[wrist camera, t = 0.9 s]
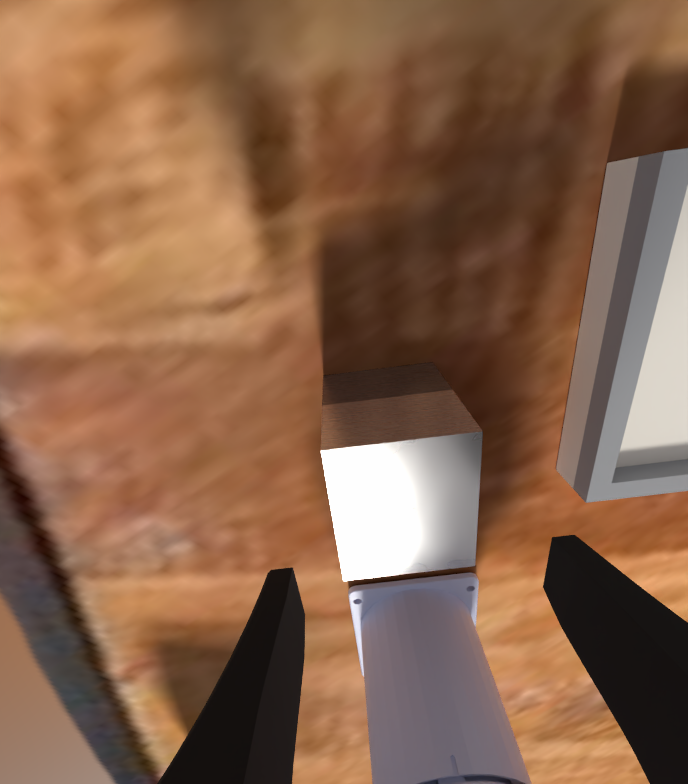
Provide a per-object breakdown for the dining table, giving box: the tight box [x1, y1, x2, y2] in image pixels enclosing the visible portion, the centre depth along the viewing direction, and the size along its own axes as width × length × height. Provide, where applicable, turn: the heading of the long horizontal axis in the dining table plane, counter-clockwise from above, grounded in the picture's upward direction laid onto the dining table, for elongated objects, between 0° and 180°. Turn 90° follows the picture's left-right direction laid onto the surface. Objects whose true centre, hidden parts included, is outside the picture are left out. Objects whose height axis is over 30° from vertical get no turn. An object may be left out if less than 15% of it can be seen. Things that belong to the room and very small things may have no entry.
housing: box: [321, 362, 483, 581], centre depth 15 cm, size 6×5×6 cm
